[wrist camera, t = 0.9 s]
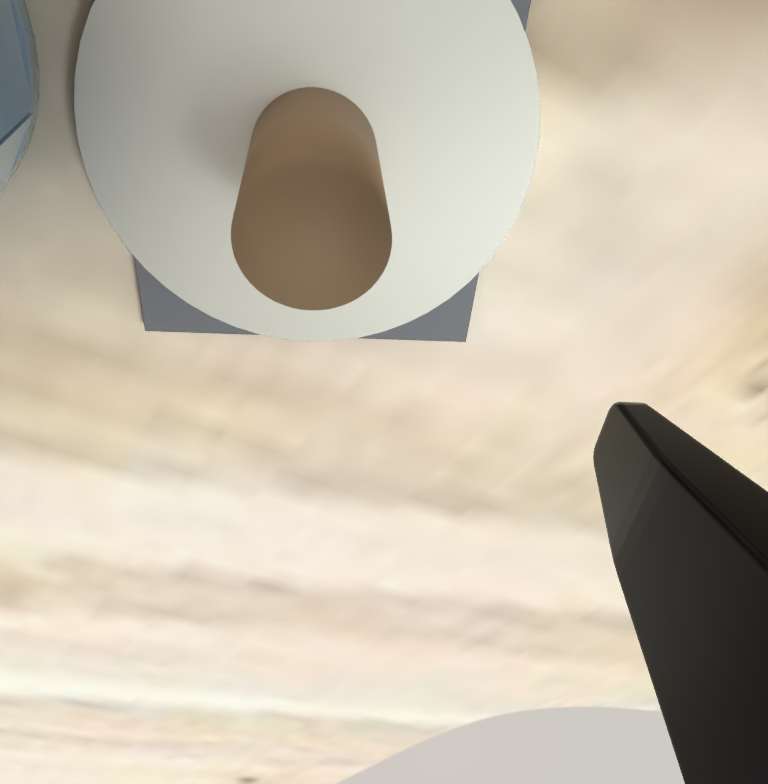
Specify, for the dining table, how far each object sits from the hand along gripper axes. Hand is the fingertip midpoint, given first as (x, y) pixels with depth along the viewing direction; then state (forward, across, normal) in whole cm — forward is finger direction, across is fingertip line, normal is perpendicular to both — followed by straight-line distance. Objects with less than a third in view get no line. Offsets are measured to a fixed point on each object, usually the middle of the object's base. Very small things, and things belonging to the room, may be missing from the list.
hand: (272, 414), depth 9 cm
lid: (+12, 0, 0) cm, 12 cm away
